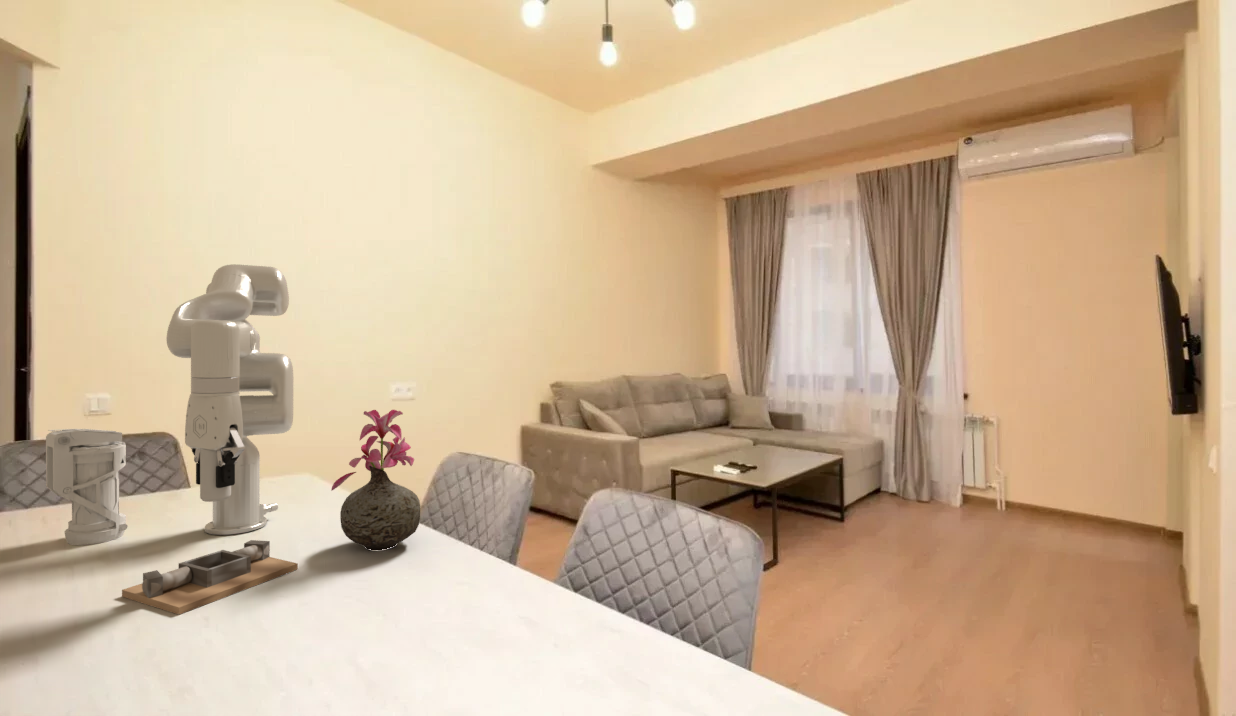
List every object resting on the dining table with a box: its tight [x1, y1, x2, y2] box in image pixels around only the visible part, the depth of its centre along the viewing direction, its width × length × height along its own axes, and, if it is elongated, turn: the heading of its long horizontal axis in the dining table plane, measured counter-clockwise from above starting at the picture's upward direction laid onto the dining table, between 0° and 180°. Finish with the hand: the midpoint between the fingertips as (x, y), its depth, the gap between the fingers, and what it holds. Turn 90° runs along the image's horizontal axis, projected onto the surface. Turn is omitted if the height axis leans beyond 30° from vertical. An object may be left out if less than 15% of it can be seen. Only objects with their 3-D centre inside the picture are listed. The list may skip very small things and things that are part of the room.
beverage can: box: [199, 444, 231, 503], centre depth 112 cm, size 5×5×12 cm
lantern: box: [45, 428, 128, 546], centre depth 134 cm, size 13×10×25 cm
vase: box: [330, 409, 421, 550], centre depth 133 cm, size 17×17×30 cm
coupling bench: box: [121, 539, 299, 615], centre depth 112 cm, size 22×16×4 cm
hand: (215, 483), depth 112 cm, fingers closed on beverage can, 4 cm apart
